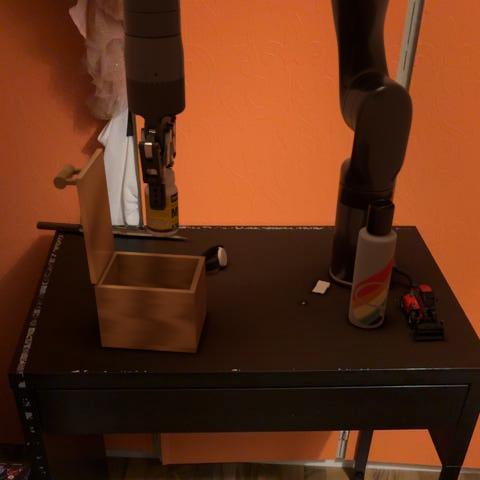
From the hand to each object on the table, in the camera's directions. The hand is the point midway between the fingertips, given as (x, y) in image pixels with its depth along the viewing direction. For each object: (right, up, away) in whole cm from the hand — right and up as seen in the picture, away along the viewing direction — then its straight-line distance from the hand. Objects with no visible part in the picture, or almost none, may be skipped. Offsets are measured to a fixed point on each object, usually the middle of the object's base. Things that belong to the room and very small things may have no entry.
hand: (161, 200), depth 104 cm
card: (+24, -9, +23) cm, 34 cm away
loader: (+40, -15, +16) cm, 46 cm away
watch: (+6, -3, +31) cm, 31 cm away
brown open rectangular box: (-2, -17, +13) cm, 21 cm away
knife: (+2, +5, +38) cm, 39 cm away
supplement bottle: (0, -4, +3) cm, 5 cm away
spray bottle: (+32, -15, +16) cm, 38 cm away
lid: (-9, -2, +2) cm, 9 cm away
